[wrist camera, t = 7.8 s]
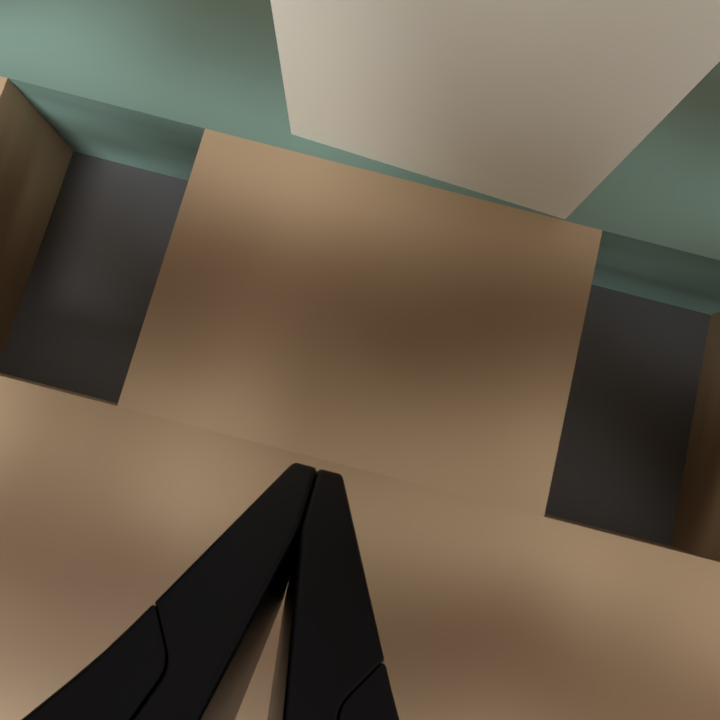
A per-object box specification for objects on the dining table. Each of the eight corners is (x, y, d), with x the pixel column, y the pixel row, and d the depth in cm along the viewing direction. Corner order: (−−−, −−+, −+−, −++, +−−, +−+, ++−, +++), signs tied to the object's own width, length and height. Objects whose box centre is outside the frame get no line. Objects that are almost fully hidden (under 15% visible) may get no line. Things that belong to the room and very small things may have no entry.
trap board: (650, 849, 16) (747, 976, 12) (-132, 644, 17) (-280, 706, 13) (774, 93, 20) (882, 5, 16) (125, -72, 20) (72, -201, 16)
